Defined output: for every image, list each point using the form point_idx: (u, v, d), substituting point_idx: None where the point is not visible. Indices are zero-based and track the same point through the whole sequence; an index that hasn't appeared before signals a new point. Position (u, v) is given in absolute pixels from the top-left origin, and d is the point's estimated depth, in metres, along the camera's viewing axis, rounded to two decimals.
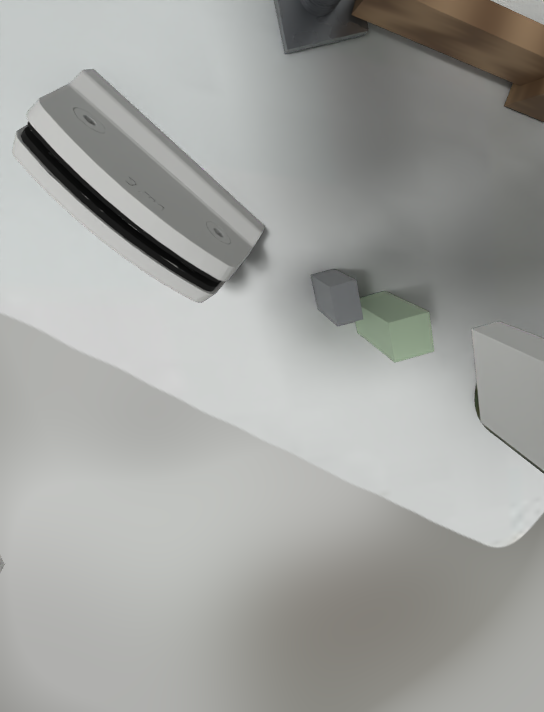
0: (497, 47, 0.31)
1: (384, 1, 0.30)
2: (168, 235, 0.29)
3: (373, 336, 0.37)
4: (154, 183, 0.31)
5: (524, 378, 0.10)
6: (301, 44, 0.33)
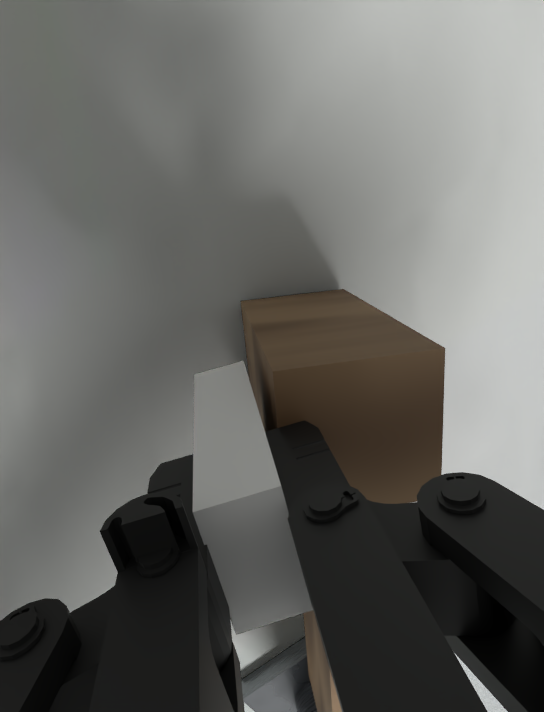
0: None
1: None
2: None
3: None
4: None
5: None
6: None
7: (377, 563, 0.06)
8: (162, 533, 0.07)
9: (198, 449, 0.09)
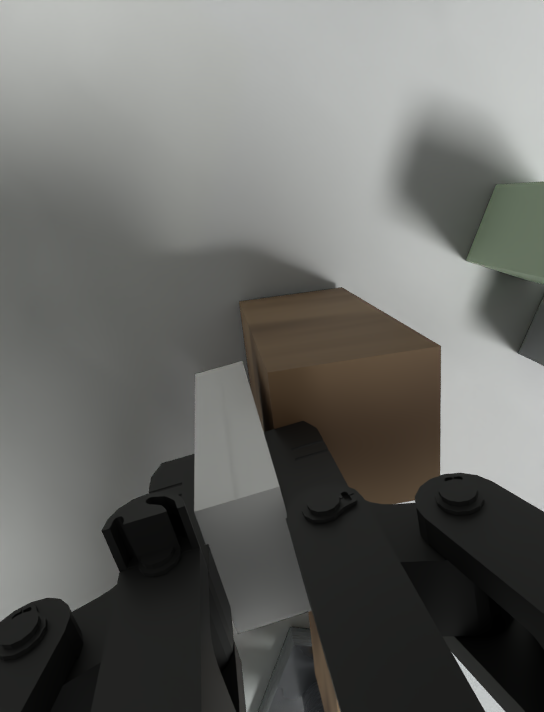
0: None
1: None
2: None
3: None
4: None
5: None
6: None
7: (375, 563, 0.06)
8: (164, 532, 0.07)
9: (199, 449, 0.09)
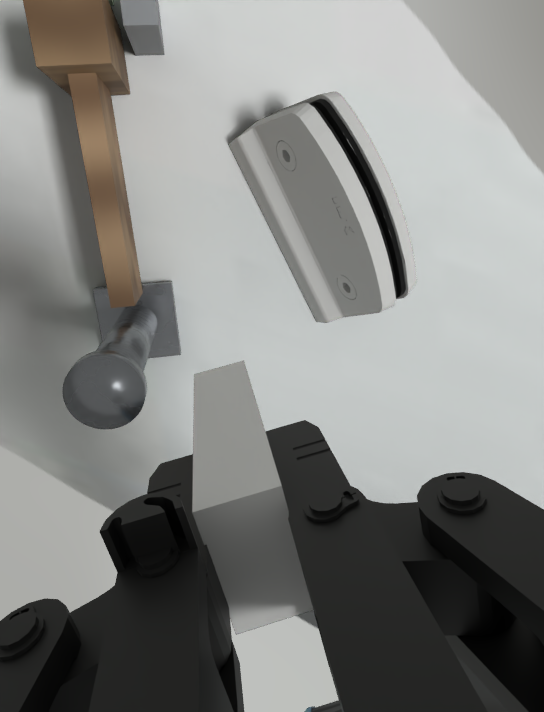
0: (113, 160, 0.31)
1: (135, 285, 0.34)
2: (343, 172, 0.30)
3: None
4: (324, 222, 0.34)
5: None
6: (157, 285, 0.38)
7: (377, 563, 0.06)
8: (162, 533, 0.07)
9: (198, 449, 0.09)
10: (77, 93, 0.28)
